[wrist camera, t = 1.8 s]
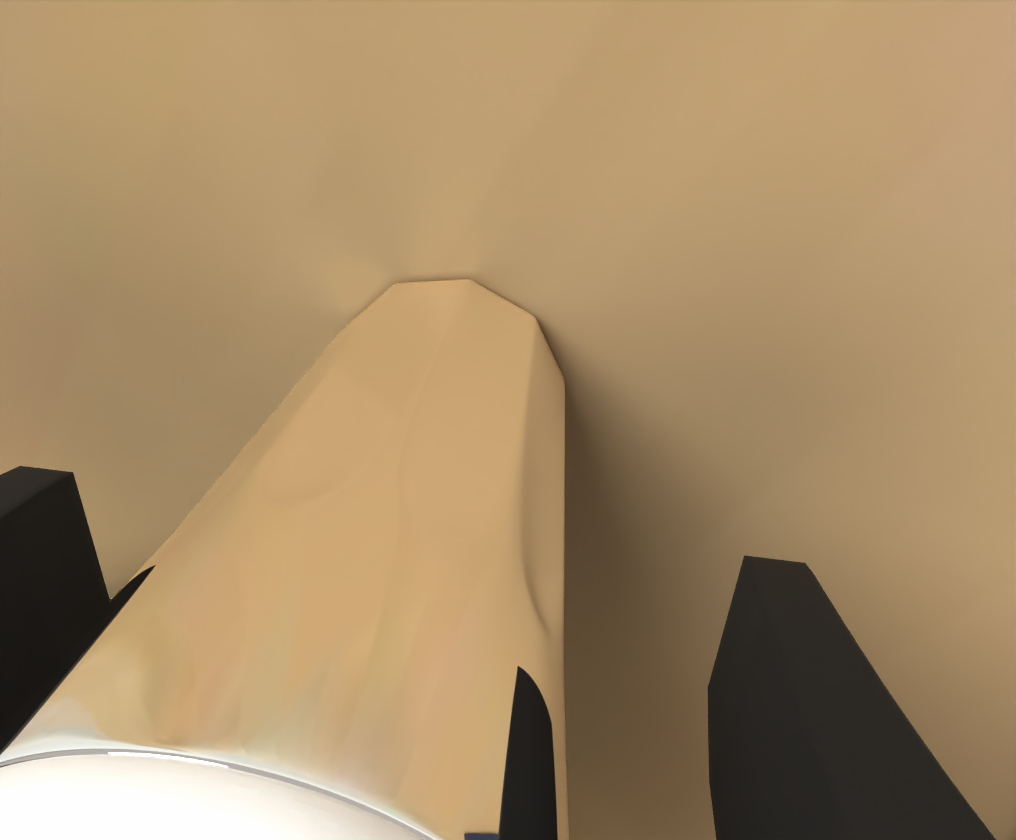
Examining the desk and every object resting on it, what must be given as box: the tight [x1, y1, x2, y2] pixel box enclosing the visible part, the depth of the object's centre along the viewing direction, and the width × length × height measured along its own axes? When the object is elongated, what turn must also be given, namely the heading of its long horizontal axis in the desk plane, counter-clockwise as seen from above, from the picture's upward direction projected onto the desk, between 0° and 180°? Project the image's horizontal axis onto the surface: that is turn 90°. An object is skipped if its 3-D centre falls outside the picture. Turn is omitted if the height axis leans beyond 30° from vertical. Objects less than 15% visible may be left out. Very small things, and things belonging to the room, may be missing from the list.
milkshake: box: [0, 279, 569, 840], centre depth 8 cm, size 4×5×10 cm
